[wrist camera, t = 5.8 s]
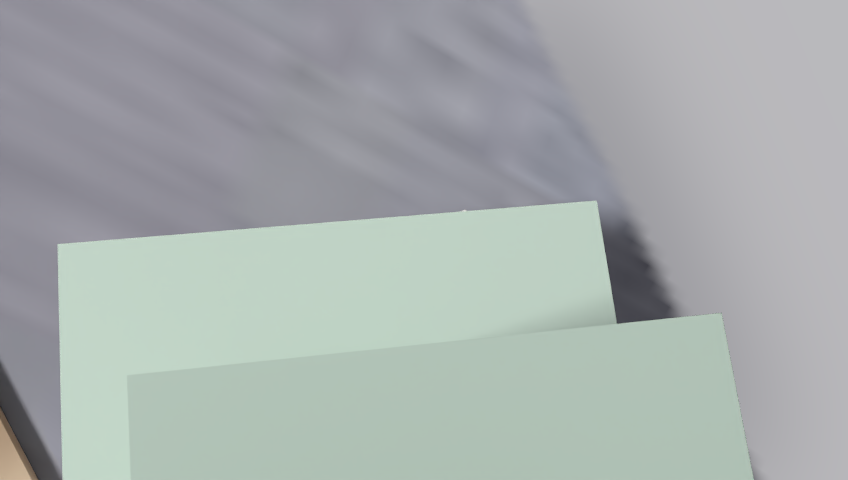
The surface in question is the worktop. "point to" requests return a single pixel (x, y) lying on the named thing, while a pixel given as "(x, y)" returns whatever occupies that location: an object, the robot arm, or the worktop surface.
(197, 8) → the worktop surface
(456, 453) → the mint green stamp
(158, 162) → the worktop surface
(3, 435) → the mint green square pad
